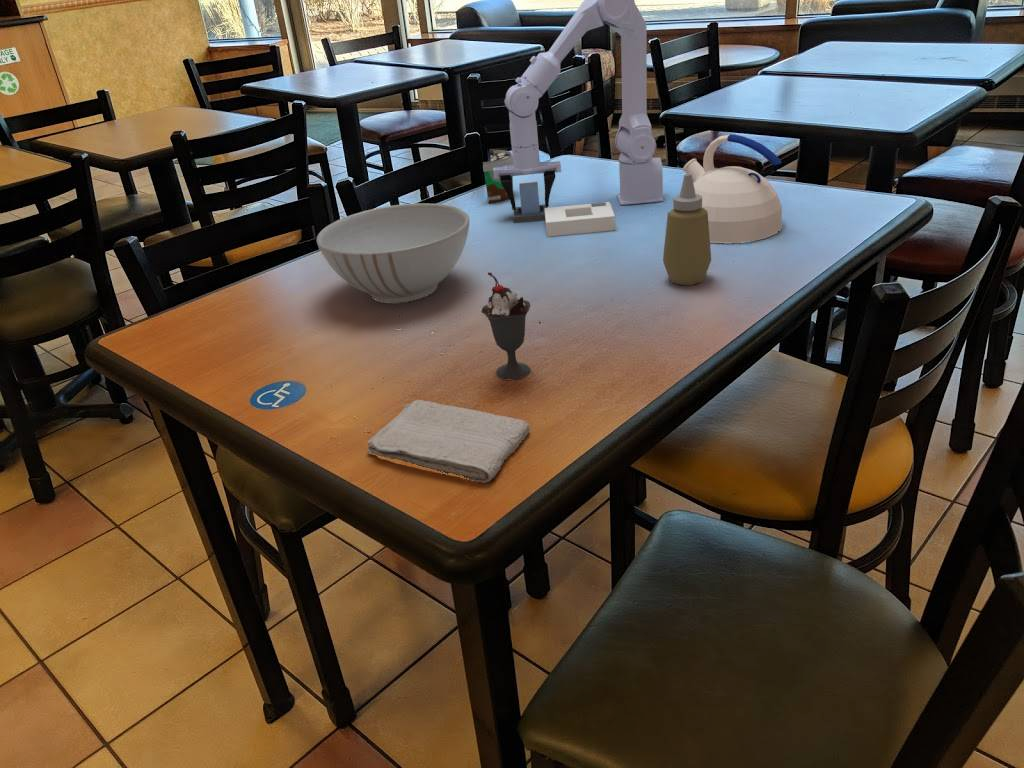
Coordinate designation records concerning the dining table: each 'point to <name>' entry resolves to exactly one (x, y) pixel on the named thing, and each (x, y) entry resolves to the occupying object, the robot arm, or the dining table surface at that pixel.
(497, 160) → the food container
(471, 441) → the washcloth
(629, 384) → the dining table surface
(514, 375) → the sundae
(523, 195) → the plug
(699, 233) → the squeeze bottle
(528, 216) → the dark square tray
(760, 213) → the kettle
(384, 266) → the decorative bowl
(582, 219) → the panel
